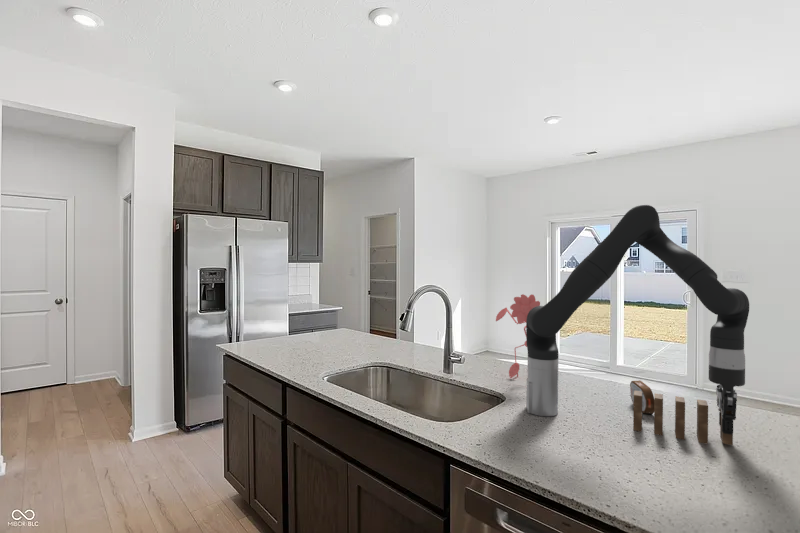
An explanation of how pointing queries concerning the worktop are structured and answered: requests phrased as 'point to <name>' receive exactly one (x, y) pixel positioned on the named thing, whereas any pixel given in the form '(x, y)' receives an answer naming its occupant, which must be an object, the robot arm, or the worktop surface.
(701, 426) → the tile
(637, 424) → the tile
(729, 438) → the end tile
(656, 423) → the tile
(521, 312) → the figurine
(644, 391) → the tin
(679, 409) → the tile
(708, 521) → the worktop surface
